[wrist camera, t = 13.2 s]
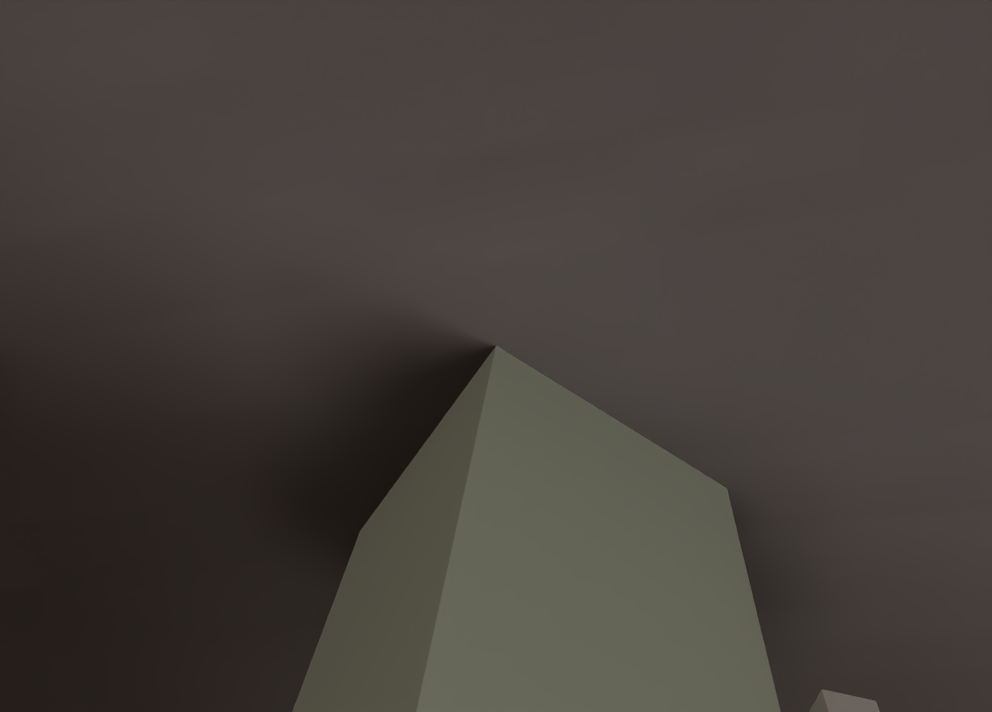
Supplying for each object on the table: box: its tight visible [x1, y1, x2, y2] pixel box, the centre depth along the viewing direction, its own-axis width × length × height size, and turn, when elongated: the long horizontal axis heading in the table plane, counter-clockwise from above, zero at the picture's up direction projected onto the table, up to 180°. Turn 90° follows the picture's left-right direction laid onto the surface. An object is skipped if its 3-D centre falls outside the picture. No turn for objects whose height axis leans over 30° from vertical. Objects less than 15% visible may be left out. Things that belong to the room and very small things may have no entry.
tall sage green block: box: [292, 346, 781, 712], centre depth 13 cm, size 5×5×8 cm
